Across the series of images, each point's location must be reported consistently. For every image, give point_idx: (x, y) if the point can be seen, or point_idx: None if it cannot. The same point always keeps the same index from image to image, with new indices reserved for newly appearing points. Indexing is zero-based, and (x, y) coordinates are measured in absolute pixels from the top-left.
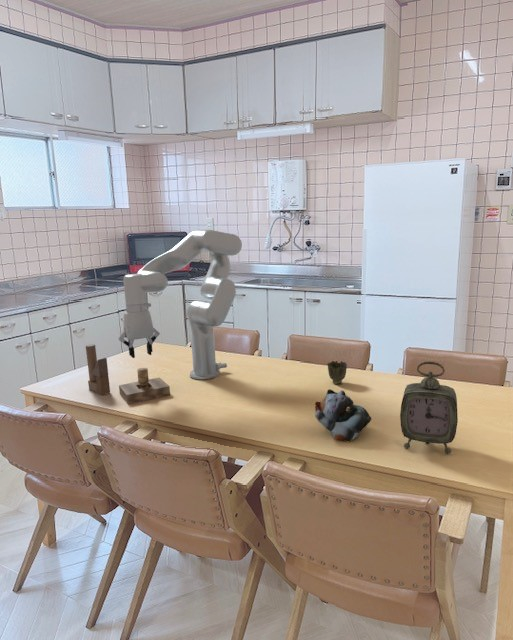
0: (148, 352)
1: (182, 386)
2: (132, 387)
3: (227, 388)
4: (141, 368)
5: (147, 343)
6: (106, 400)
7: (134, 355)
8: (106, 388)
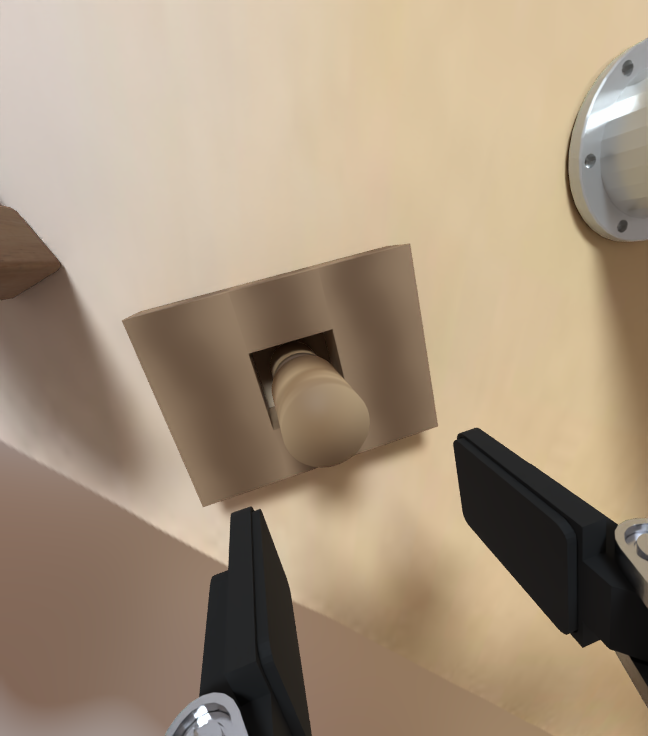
0: (474, 502)
1: (489, 302)
2: (229, 392)
3: (638, 392)
4: (319, 403)
5: (586, 564)
6: (69, 397)
7: (290, 613)
8: (20, 282)
